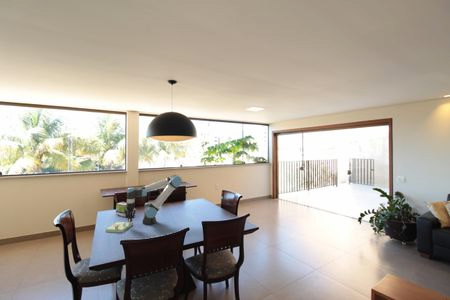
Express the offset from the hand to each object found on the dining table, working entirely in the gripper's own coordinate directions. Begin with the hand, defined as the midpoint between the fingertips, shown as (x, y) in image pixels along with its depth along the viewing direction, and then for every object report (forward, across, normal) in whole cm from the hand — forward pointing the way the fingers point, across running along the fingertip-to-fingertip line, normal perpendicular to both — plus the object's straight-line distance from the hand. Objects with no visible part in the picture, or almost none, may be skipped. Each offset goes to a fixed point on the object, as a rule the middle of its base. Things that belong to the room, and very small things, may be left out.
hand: (129, 224), depth 222 cm
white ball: (0, +6, 0) cm, 6 cm away
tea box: (+5, +32, -46) cm, 56 cm away
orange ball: (0, +9, +9) cm, 13 cm away
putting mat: (+4, +11, 0) cm, 12 cm away
